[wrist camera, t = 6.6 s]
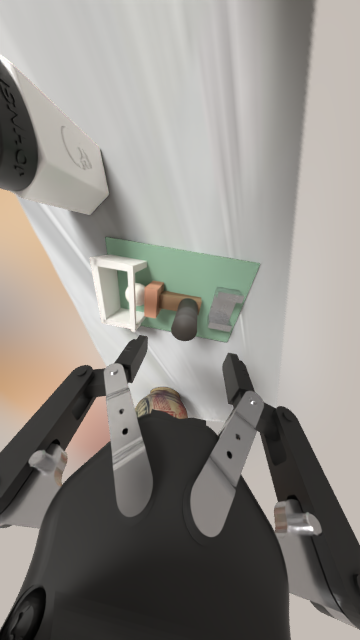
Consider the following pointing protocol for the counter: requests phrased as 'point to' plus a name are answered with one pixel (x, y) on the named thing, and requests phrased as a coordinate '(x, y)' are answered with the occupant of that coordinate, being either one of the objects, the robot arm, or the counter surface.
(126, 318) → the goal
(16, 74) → the jar
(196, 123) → the counter surface
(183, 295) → the wooden peg with knob
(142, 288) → the ball
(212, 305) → the bracket
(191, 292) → the pitch mat
